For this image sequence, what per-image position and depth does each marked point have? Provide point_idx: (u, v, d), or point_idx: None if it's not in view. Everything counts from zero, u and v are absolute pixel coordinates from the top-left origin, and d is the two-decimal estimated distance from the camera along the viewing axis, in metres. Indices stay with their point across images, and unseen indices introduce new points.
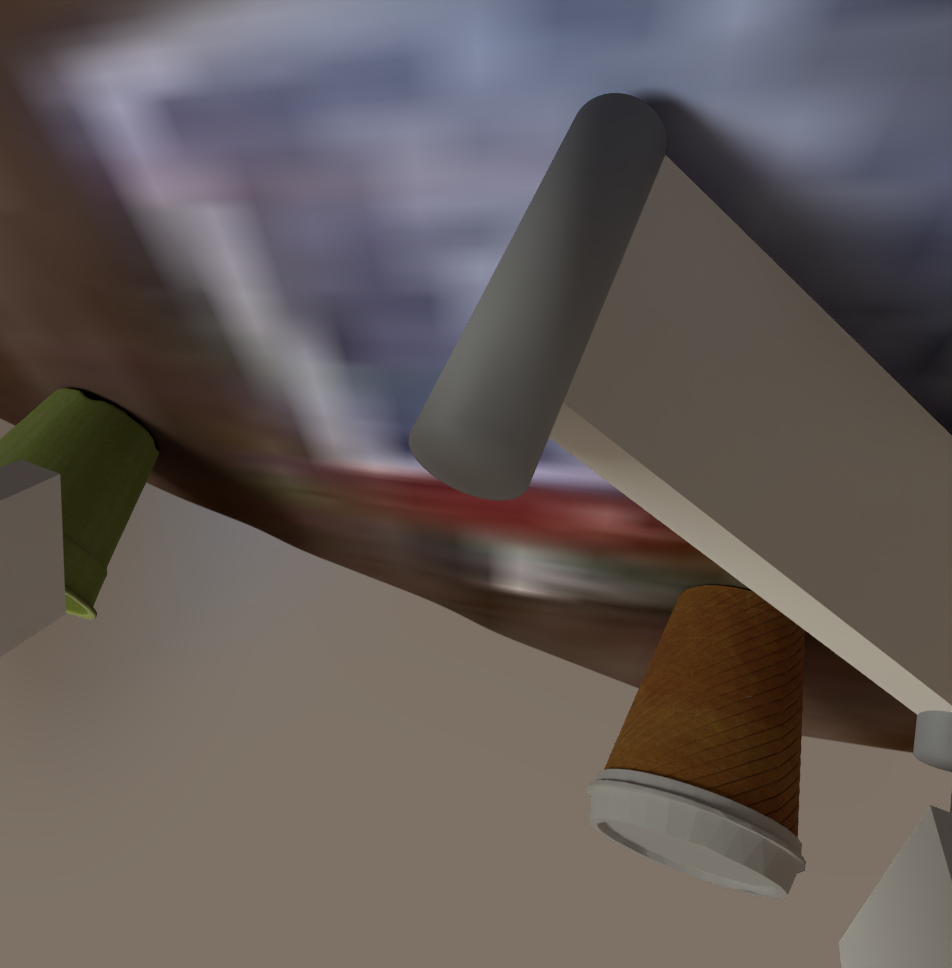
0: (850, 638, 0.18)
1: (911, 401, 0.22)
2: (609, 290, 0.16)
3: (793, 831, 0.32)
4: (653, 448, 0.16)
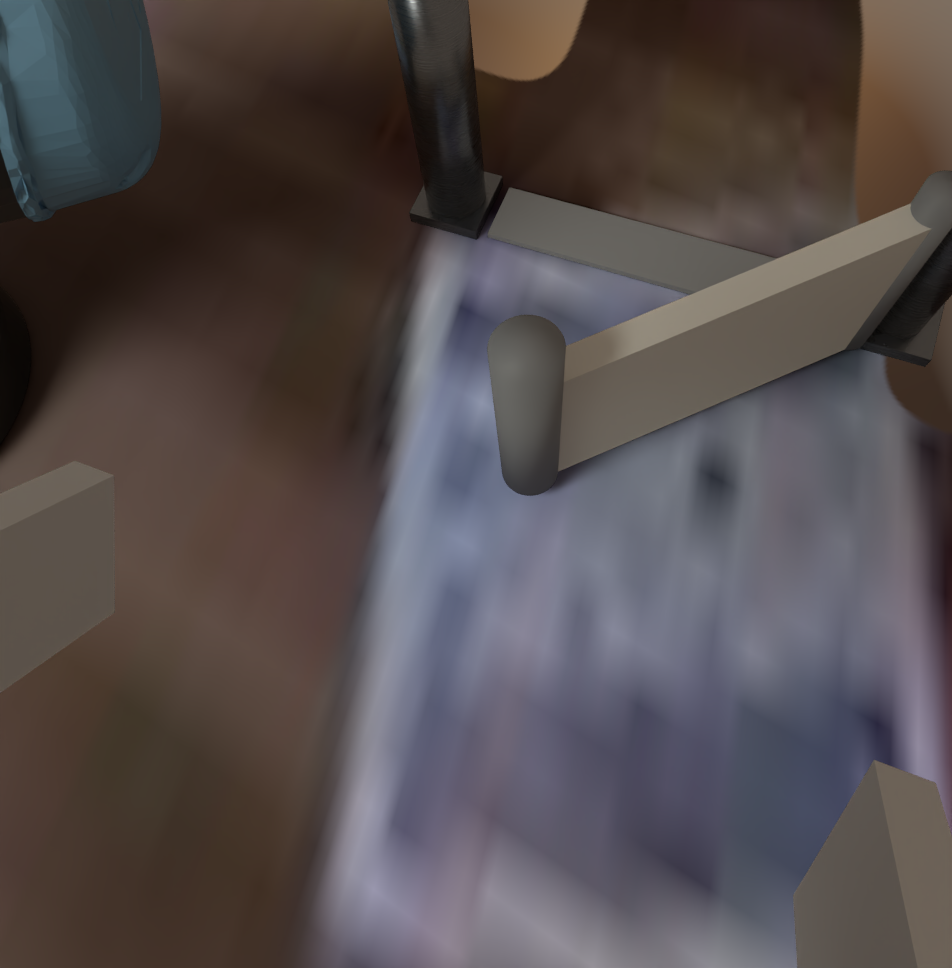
0: (811, 255, 0.26)
1: None
2: None
3: None
4: None
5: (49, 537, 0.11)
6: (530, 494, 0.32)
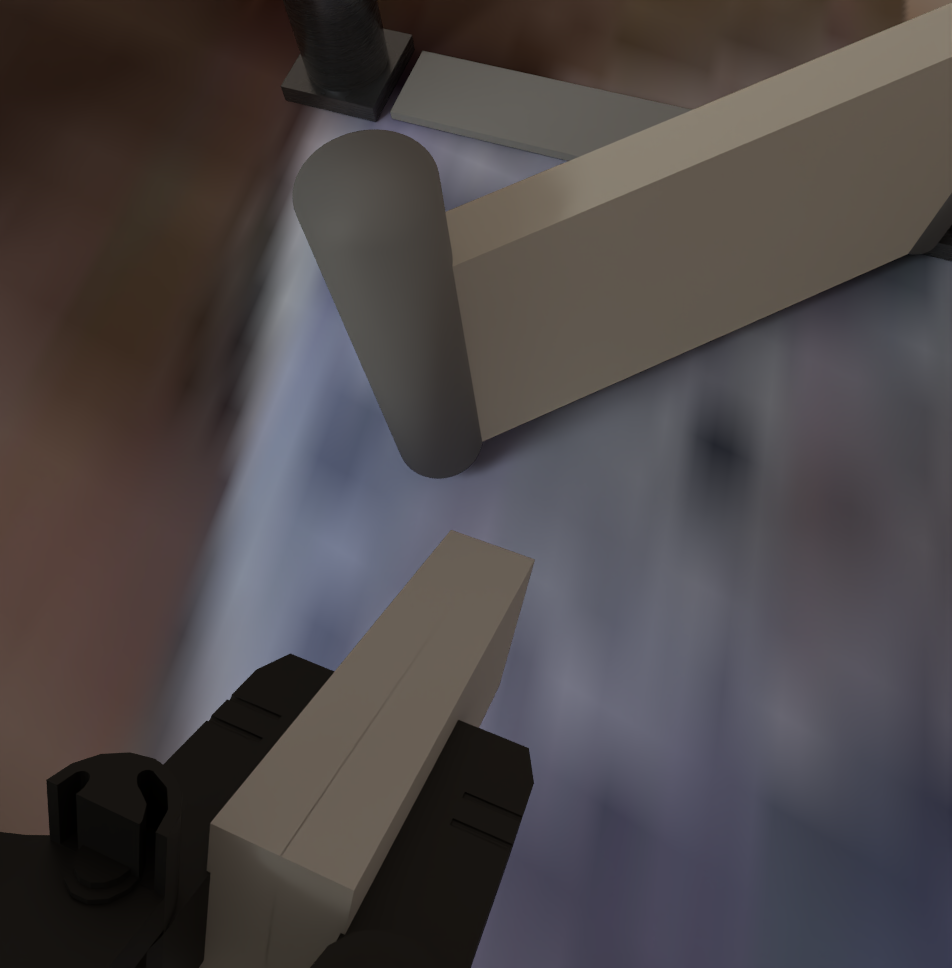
0: (883, 47, 0.15)
1: None
2: None
3: None
4: None
5: None
6: (439, 476, 0.21)
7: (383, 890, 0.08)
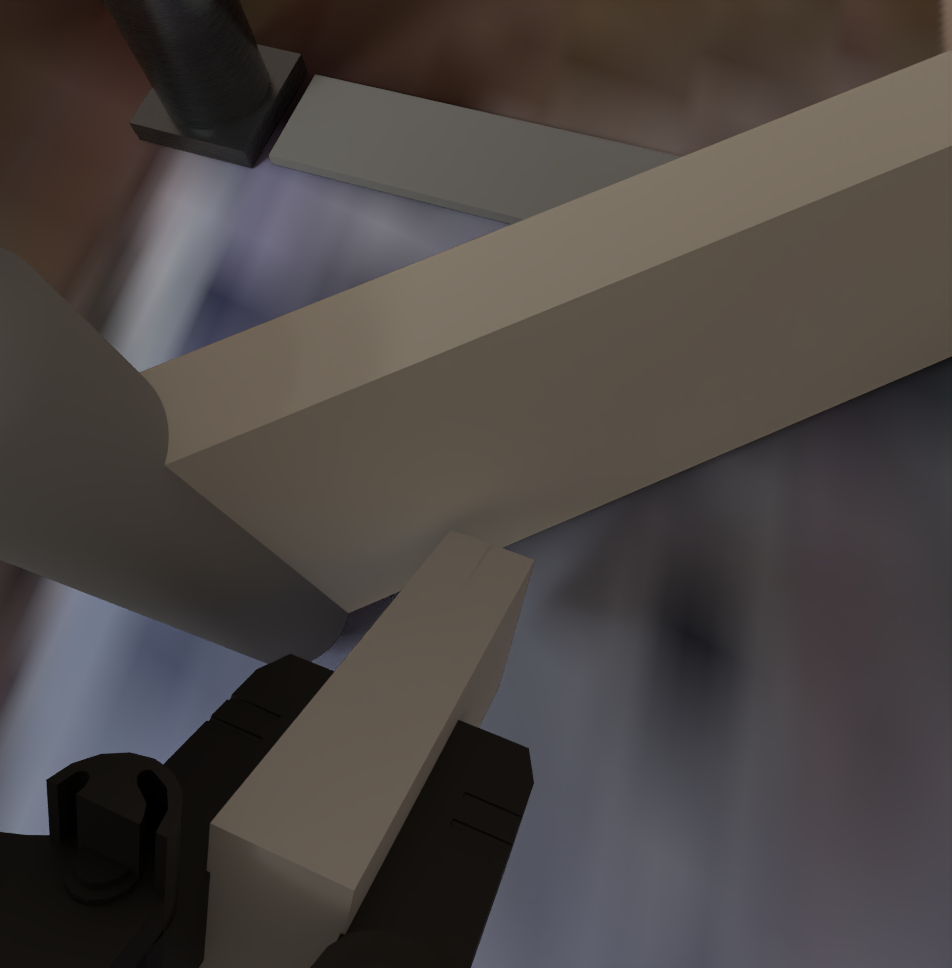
0: (937, 84, 0.09)
1: None
2: None
3: None
4: None
5: None
6: None
7: (383, 890, 0.08)
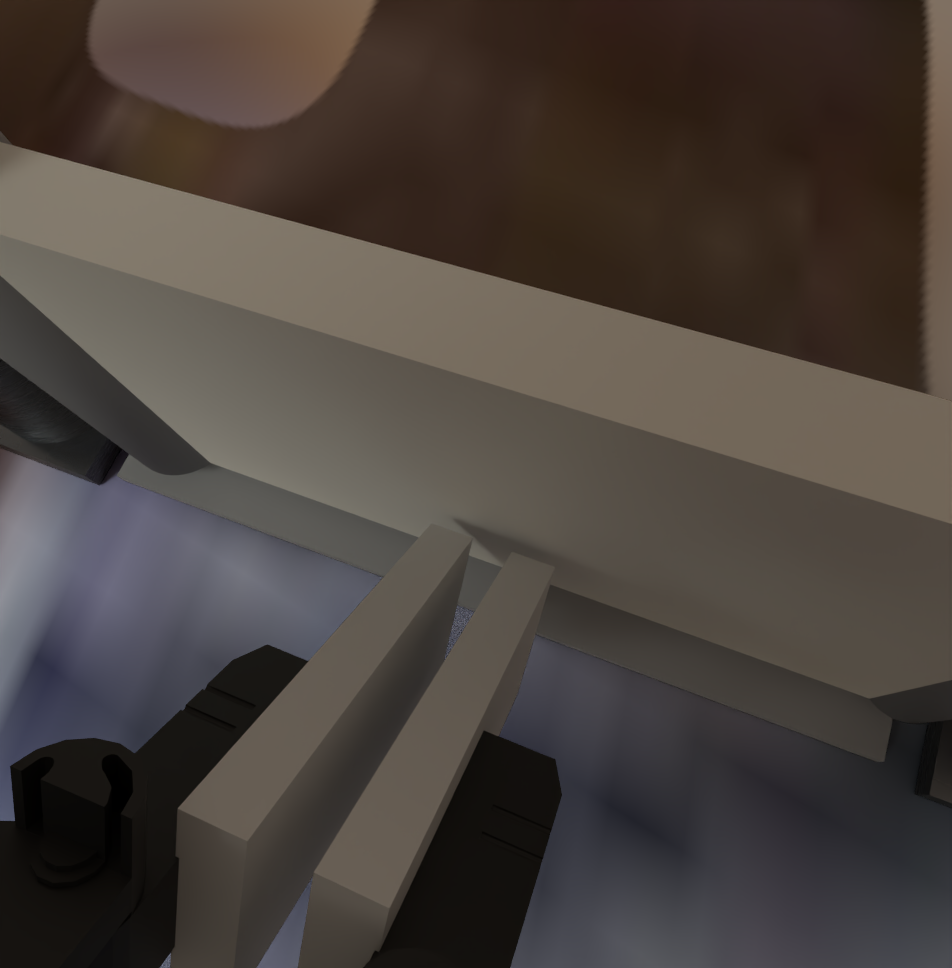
0: (758, 384, 0.07)
1: None
2: None
3: None
4: None
5: (439, 603, 0.12)
6: None
7: (416, 906, 0.07)
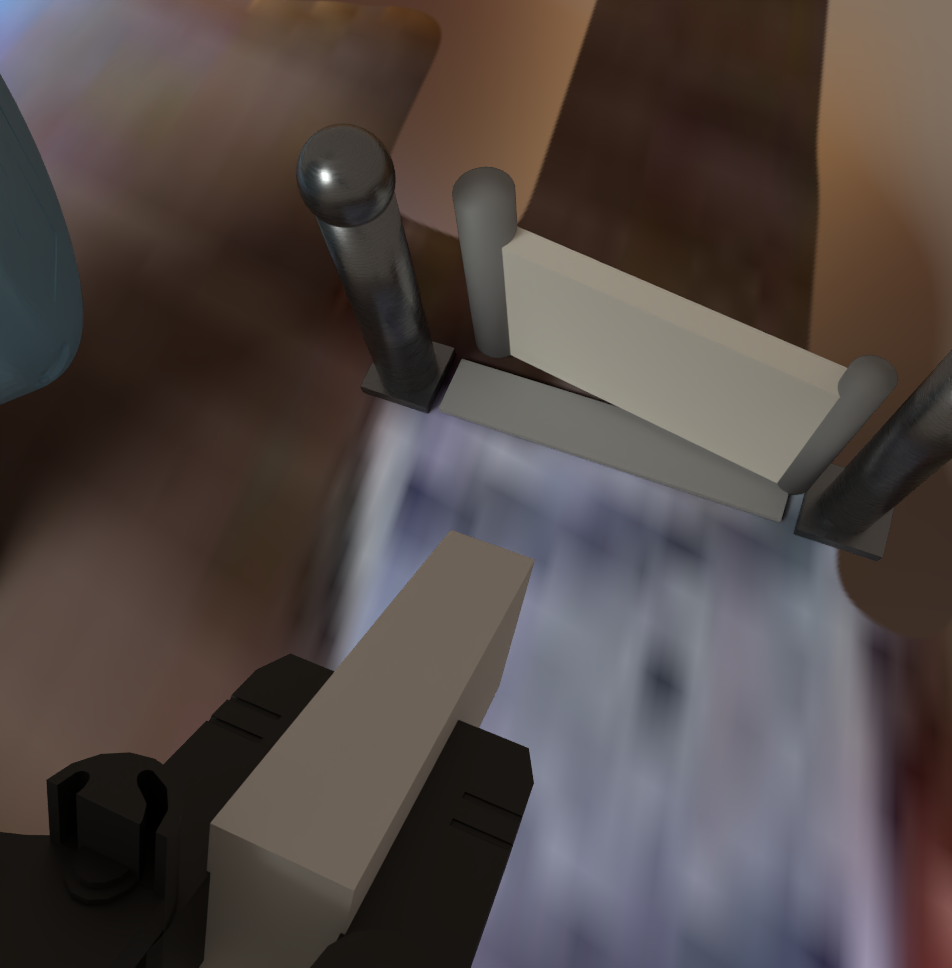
0: (738, 331, 0.28)
1: None
2: None
3: None
4: None
5: None
6: (479, 348, 0.38)
7: (383, 890, 0.08)
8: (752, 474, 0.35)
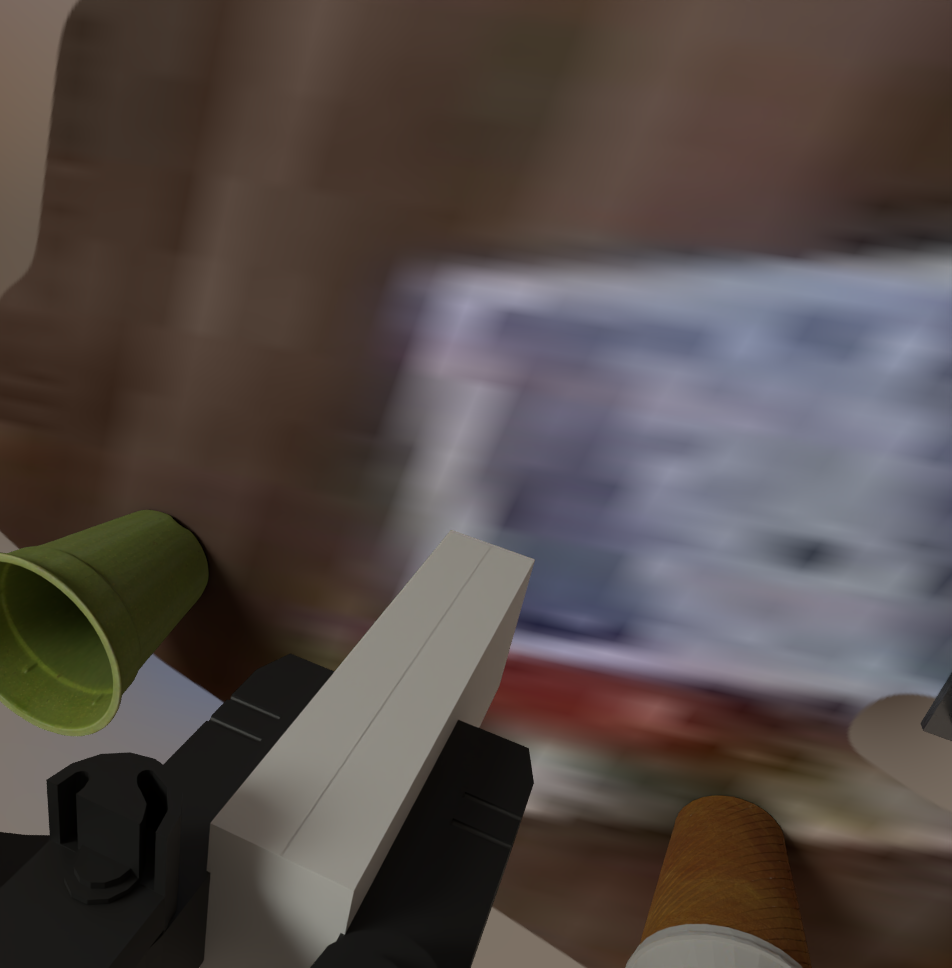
0: None
1: None
2: None
3: None
4: None
5: None
6: None
7: (383, 890, 0.08)
8: None
